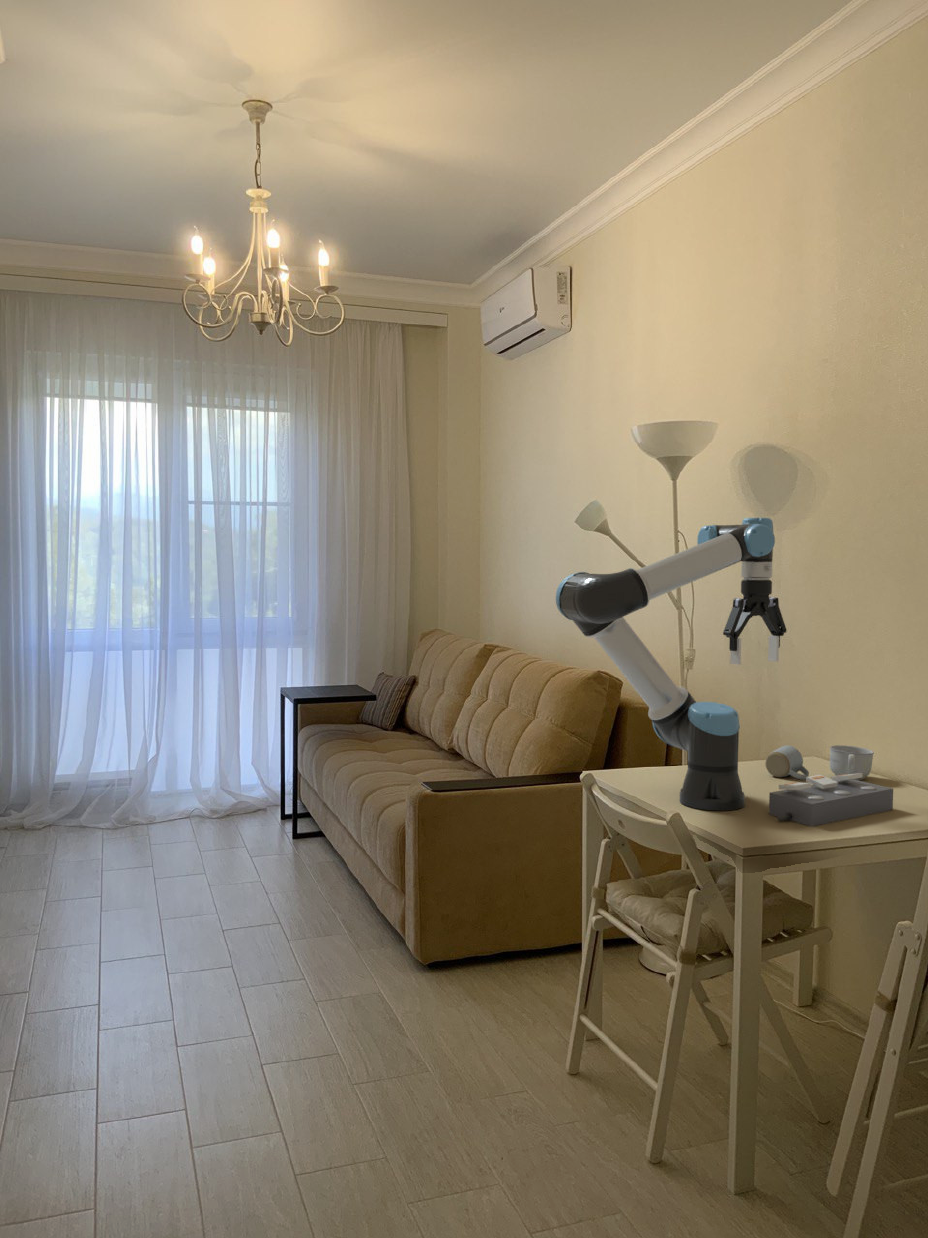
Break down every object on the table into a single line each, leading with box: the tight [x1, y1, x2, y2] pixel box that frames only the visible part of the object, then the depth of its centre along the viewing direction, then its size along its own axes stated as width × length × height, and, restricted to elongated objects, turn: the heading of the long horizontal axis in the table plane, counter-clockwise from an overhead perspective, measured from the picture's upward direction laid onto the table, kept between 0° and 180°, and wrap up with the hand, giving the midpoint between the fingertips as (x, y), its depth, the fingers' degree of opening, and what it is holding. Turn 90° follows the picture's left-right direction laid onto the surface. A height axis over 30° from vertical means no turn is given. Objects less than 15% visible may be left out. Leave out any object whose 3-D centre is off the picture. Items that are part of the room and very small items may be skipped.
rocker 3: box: [830, 773, 863, 782], centre depth 243 cm, size 5×5×1 cm
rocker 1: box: [778, 781, 812, 791], centre depth 234 cm, size 5×5×1 cm
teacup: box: [829, 744, 874, 781], centre depth 270 cm, size 14×11×8 cm
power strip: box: [768, 779, 894, 827], centre depth 235 cm, size 32×12×5 cm, turn 121°
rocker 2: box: [805, 774, 838, 789], centre depth 239 cm, size 5×5×1 cm
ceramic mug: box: [764, 744, 810, 781], centre depth 273 cm, size 11×8×8 cm
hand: (754, 662), depth 260 cm, fingers open, 13 cm apart
